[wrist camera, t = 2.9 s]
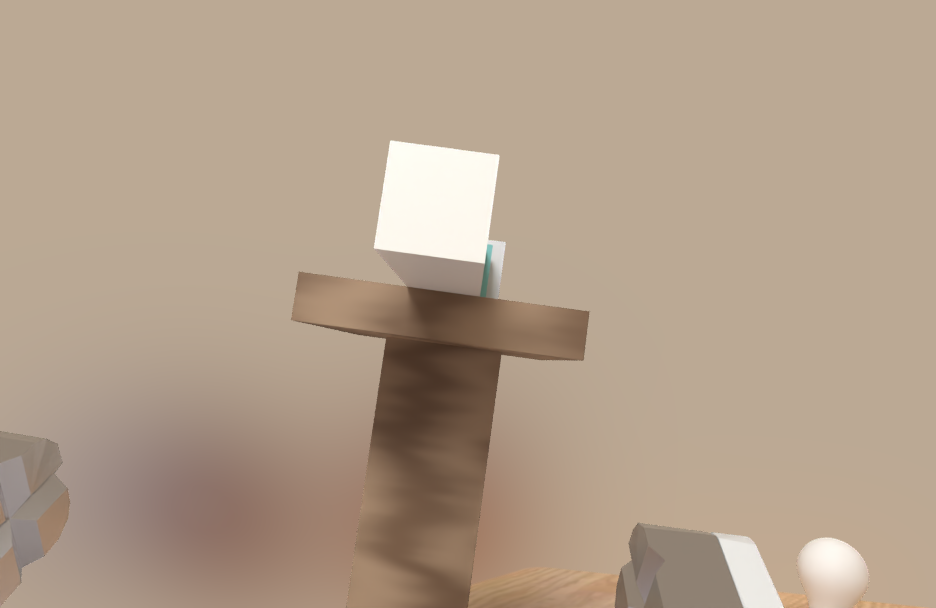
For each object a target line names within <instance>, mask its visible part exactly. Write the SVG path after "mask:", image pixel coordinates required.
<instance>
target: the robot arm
mask: <svg viewBox="0 0 936 608" xmlns="http://www.w3.org/2000/svg"><path fill="white" fill-rule="evenodd" d="M61 464H62V459H61V455H60V451H59V447H58V444H57V443H55V442H52V441H50V440H48V439H44V438H38V437H32V436H26V435H20V434H14V433H8V432H2V431H0V606H1V605H2V604H3V603H4V602H5V600H6V599H7V598H8V597H9V596H10V595H11V594H12V593H13V592H14V590H15V589H16V588H17V587H18V586H19V585H20V584H21V575H22V573H21V572H22V567H24V566H26V565H28V564H30V563H32V562H34V561H36V560H38V559H40V558H42V557H44V556H45V555H46V554H47V552H48V551H49V550H50V549H51V548H52V546H53V545H54V544H55V543H56V542H57V540H58V539H59V537H60V535H61V533H62V531H63V528H64V526H65V524H66V522H67V519H68V515H69V506H70V499H69V494H68V488H67V487H66V486H65V485H64V484H63V483H62V482H61V481H60V479H59V478H58V477H57V476H56V475H55V472H56V471H57V470H58V468H59V467H60V466H61ZM629 548H630V553H631V558H632V561H630V562H629V563H627V564H626V565H624V566H623V567H622V568H621V572H620V575H619V579H618V583H617V589H616V600H615V608H784V606H783V604H782V602H781V600H780V597H779V595H778V593H777V591H776V589H775V587H774V584H773V582H772V580H771V578H770V576H769V573H768V571H767V569H766V566H765V564H764V562H763V560H762V558H761V556H760V553H759V551H758V549H757V547H756V544H755V543H754V542H753V541H752V540H751V539H750V538H749V537H745V536H738V535H730V534H722V533H714V532H712V533H708V532H702V531H694V530H686V529H680V528H672V527H665V526H657V525H650V524H642V523H638V524H637V525H636V527H635V528H634V530H633V532H632V535H631V538H630V541H629Z"/></svg>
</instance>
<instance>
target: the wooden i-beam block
mask: <svg viewBox="0 0 936 608" xmlns="http://www.w3.org/2000/svg"><path fill="white" fill-rule="evenodd" d="M588 319H589V311H581V310H574V309H567V308H559V307H552V306H545V305H537V304H530V303H523V302H515V301H507V300H501V299H494V298H486V297H479V296H472V295H464V294H457V293H450V292H443V291H435V290H428V289H421V288H413V287H406V286H399V285H391V284H383V283H376V282H370V281H362V280H354V279H347V278H340V277H333V276H326V275H318V274H311V273H304V272H299V274H298V281H297V287H296V293H295V299H294V305H293V312H292V318H291V320H294V321H298V322H302V323H307V324H312V325H316V326H321V327H325V328H330V329H335V330H339V331H344V332H348V333H353V334H357V335H364V336H370V337H378V338H385V339H386V344H385V350H384V357H383V364H382V370H381V377H380V383H379V390H378V397H377V404H376V410H375V418H374V424H373V430H372V437H371V444H370V450H369V458H368V464H367V470H366V477H365V485H364V491H363V497H362V504H361V511H360V517H359V524H358V531H357V538H356V544H355V551H354V558H353V565H352V572H351V578H350V585H349V591H348V598H347V605H346V608H468V601H469V593H470V586H471V578H472V570H473V563H474V555H475V548H476V540H477V533H478V525H479V518H480V510H481V503H482V496H483V488H484V481H485V473H486V466H487V458H488V451H489V443H490V436H491V428H492V421H493V413H494V406H495V398H496V391H497V383H498V376H499V368H500V360H501V355H508V356H515V357H523V358H529V359H537V360H584V351H585V343H586V335H587V327H588Z"/></svg>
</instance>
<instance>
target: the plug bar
mask: <svg viewBox="0 0 936 608" xmlns="http://www.w3.org/2000/svg"><path fill="white" fill-rule="evenodd" d="M498 163H499V155H495V154H487V153H480V152H472V151H464V150H457V149H450V148H442V147H435V146H427V145H420V144H412V143H405V142H397V141H390V146H389V153H388V159H387V166H386V172H385V179H384V186H383V192H382V199H381V205H380V212H379V218H378V225H377V231H376V238H375V245H374V249H375V250H376V251H377V253H378V254H379V255H380V256H381V257H382V258H383V259H384V261H385V262H386V263H387V264H388V265H389V266H390V267H391V269H392V270H393V271H394V272H395V273H396V274H397V275H398V276H399V278H400V279H401V280H402V281H403V282H404V283H405V285H406V286H407V287H413V288H421V289H428V290H435V291H443V292H450V293H457V294H464V295H472V296H479V297H486V298H494V299H498V296H499V289H500V281H501V274H502V266H503V259H504V252H505V244H506V243H505V242H500V241H493V240H488V236H489V229H490V221H491V214H492V207H493V199H494V192H495V185H496V177H497V170H498Z"/></svg>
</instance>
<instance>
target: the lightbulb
mask: <svg viewBox="0 0 936 608" xmlns="http://www.w3.org/2000/svg"><path fill="white" fill-rule="evenodd" d="M797 571H798V575H799V578H800V581H801V584H802V586H803V588H804V590H805V593H806V596H807V599H808V604H809V608H854V607H855V605H856V604H857V603H858V602H859V601H860V600H861V598H862V597H863V595H864V594H865V593H866V591H867V588H868V585H869V571H868V568H867V565H866V563H865V562H864V559H863V558H862V556H861V555H860V554H859V552H857V551H856V550H855V549H854V548H853V547H851V546H850V545H848V544H847V543H845V542H843V541H841V540H838V539H834V538H819V539H815V540H813V541H811V542H809V543H808V544H806V545H805V546H804V547H803V548H802V549H801V551H800V553H799V555H798V559H797Z"/></svg>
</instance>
